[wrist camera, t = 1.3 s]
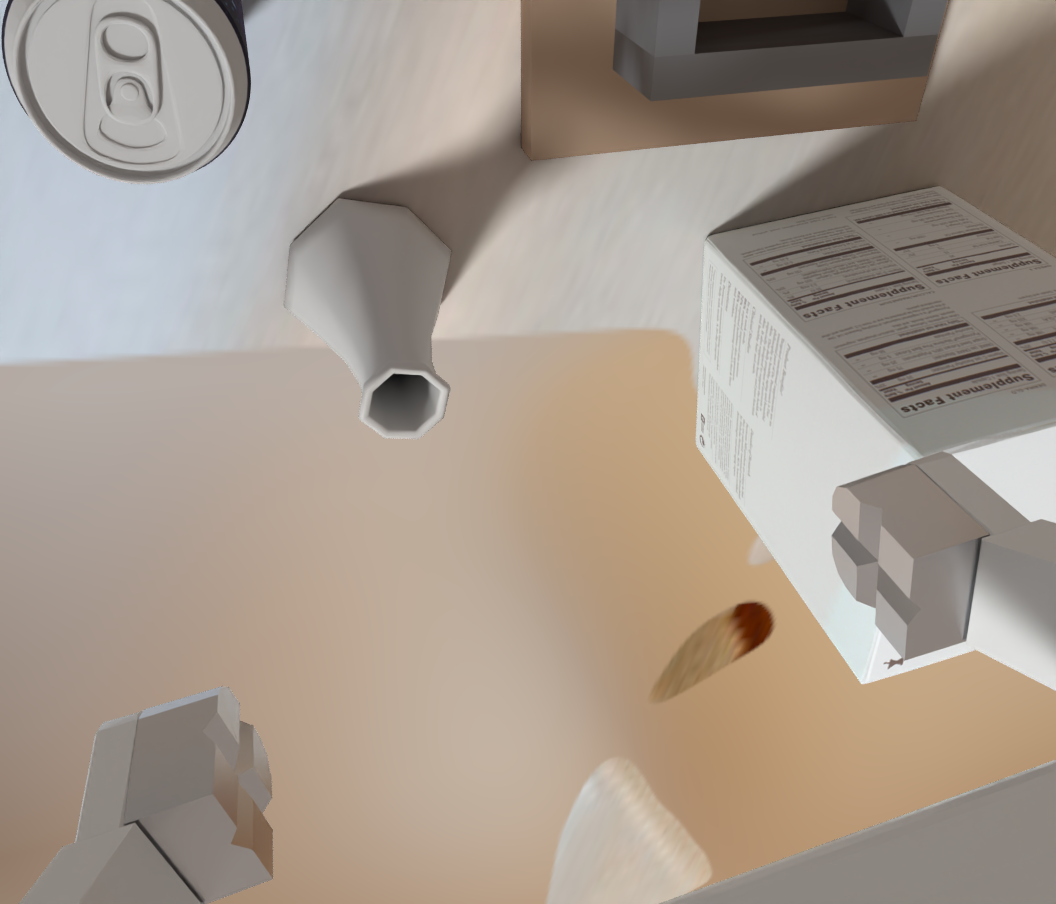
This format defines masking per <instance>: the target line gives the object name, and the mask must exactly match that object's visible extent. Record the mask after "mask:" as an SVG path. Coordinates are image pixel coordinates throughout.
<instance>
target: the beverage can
mask: <svg viewBox="0 0 1056 904" xmlns="http://www.w3.org/2000/svg"><path fill="white" fill-rule="evenodd" d="M2 52H3V59H4V64H5V68H6V72H7V76H8V78H9V81H10V84H11V86H12V89H13V91H14V93H15V95H16V97H17V99H18V101H19V103H20V104H21V106H22V108H23V109H24V111H25V112H26V114H27V115H28V116H29V118H30V119H31V121H32V122H33V123H34V125H35V126H36V128H37V129H38V130H39V132H40V133H41V134H42V135H43V136H44V137H45V139H46V140H47V141H48V142H49V143H50V144H51V145H52V146H53V147H54V148H55V149H57V150H58V151H59V152H60V153H61V154H63V155H64V156H65V157H66V158H68V159H69V160H71V161H72V162H74V163H75V164H77V165H79V166H80V167H82V168H84V169H86V170H88V171H90V172H92V173H94V174H97V175H99V176H102V177H105V178H108V179H111V180H115V181H120V182H125V183H131V184H155V183H164V182H168V181H172V180H175V179H179V178H181V177H184V176H186V175H188V174H190V173H192V172H194V171H196V170H199V169H200V168H202V167H204V166H206V165H207V164H209V163H210V162H212V161H213V160H214V159H216V158H217V157H218V156H219V155H220V154H221V153H222V152H224V151H225V149H226V148H227V147H228V146H229V145H230V144H231V142H232V141H233V140H234V138H235V137H236V135H237V133H238V132H239V130H240V128H241V126H242V123H243V121H244V118H245V116H246V112H247V109H248V104H249V99H250V89H251V77H250V66H249V58H248V51H247V43H246V35H245V27H244V20H243V12H242V4H241V0H9V1H8V4H7V7H6V10H5V14H4V18H3V25H2Z"/></svg>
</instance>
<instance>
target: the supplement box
mask: <svg viewBox="0 0 1056 904" xmlns="http://www.w3.org/2000/svg"><path fill="white" fill-rule="evenodd" d="M696 446H697V447H698V449H699V450H700V452H701V453H702V454H703V456H704V457H705V459H706V460H707V461H708V463H709V465H710V466H711V467H712V469H713V470H714V472H715V473H716V474H717V476H718V477H719V478H720V480H721V482H722V483H723V485H724V486H725V488H726V489H727V490H728V492H729V493H730V495H731V496H732V498H733V499H734V501H735V502H736V504H737V505H738V506H739V508H740V509H741V511H742V512H743V513H744V515H745V516H746V518H747V519H748V521H749V522H750V524H751V525H752V526H753V528H754V529H755V531H756V532H757V534H758V535H759V537H760V538H761V539H762V541H763V542H764V544H765V545H766V547H767V548H768V550H769V551H770V553H771V554H772V555H773V557H774V558H775V560H776V561H777V562H778V564H779V566H780V567H781V568H782V570H783V571H784V573H785V574H786V576H787V577H788V579H789V580H790V582H791V583H792V585H793V586H794V587H795V589H796V590H797V592H798V593H799V595H800V596H801V598H802V599H803V601H804V602H805V603H806V605H807V606H808V608H809V609H810V611H811V612H812V613H813V615H814V617H815V618H816V619H817V621H818V622H819V624H820V625H821V626H822V628H823V629H824V631H825V632H826V634H827V635H828V637H829V638H830V639H831V641H832V642H833V644H834V645H835V647H836V648H837V649H838V651H839V652H840V654H841V655H842V656H843V658H844V659H845V661H846V662H847V664H848V665H849V667H850V668H851V670H852V671H853V672H854V674H855V675H856V677H857V678H858V680H859V681H860V683H861V684H866V683H869V682H873V681H877V680H880V679H883V678H887V677H890V676H894V675H897V674H901V673H904V672H907V671H910V670H914V669H917V668H920V667H923V666H926V665H929V664H932V663H936V662H939V661H942V660H945V659H949V658H952V657H955V656H958V655H961V654H964V653H968V652H970V651H974V650H975V649H973V648H971V647H969V646H967V645H966V642H962V643H959V644H956V645H953V646H950V647H947V648H943V649H940V650H937V651H934V652H931V653H928V654H924V655H921V656H918V657H915V658H912V659H908V660H905V661H904V660H903V658H902V657H901V656H900V655H899V653H898V652H897V651H896V650H895V648H894V647H893V646H892V645H891V643H890V642H889V641H888V640H887V639H886V637H885V636H884V635H883V634H882V632H881V631H880V630H879V629H878V627H877V626H876V625H875V614H876V608H873V607H871V606H868V605H866V604H863V603H861V602H858V601H856V600H855V599H854V597H853V596H852V595H851V593H850V592H849V591H848V590H847V588H846V587H845V585H844V583H843V581H842V580H841V578H840V576H839V574H838V572H837V568H836V565H835V562H834V559H833V555H832V534H833V532H834V531H835V529H836V528H837V526H838V525H839V523H840V522H841V520H840V519H839V518H838V517H837V516H836V514H835V513H834V512H833V511H832V495H833V493H834V491H835V489H836V487H837V486H840V485H843V484H846V483H849V482H852V481H855V480H858V479H861V478H864V477H867V476H870V475H873V474H876V473H879V472H882V471H885V470H888V469H891V468H894V467H897V466H900V465H905V464H906V463H908V462H911V461H914V460H917V459H920V458H923V457H926V456H929V455H932V454H935V453H938V452H941V451H943V452H946V453H949V454H951V455H953V456H954V457H955V458H956V459H958V460H959V461H960V462H961V463H962V464H963V465H965V466H966V467H967V468H968V469H969V470H970V471H972V472H973V473H974V474H975V475H976V476H977V477H979V478H980V479H981V480H982V481H983V482H984V483H986V484H987V485H988V486H989V487H990V488H991V489H993V490H994V491H995V492H996V493H997V494H998V495H1000V496H1001V497H1002V498H1003V499H1004V500H1005V501H1007V502H1008V503H1009V504H1010V505H1011V506H1013V507H1014V508H1015V509H1016V510H1017V511H1018V512H1020V513H1021V514H1022V515H1023V516H1024V517H1025V518H1027V519H1028V520H1029V521H1030V522H1033V521H1036V520H1040V519H1043V520H1047V521H1050V522H1054V523H1056V258H1055V257H1054V256H1052V255H1051V254H1049V253H1047V252H1046V251H1044V250H1043V249H1041V248H1039V247H1038V246H1036V245H1035V244H1033V243H1031V242H1030V241H1028V240H1027V239H1025V238H1023V237H1022V236H1020V235H1019V234H1017V233H1016V232H1014V231H1012V230H1011V229H1009V228H1008V227H1006V226H1004V225H1003V224H1001V223H1000V222H998V221H996V220H995V219H993V218H992V217H990V216H988V215H987V214H985V213H984V212H982V211H980V210H979V209H977V208H976V207H974V206H973V205H971V204H969V203H968V202H966V201H965V200H963V199H961V198H960V197H958V196H957V195H955V194H953V193H952V192H950V191H948V190H947V189H945V188H943V187H941V186H937V187H932V188H927V189H922V190H917V191H912V192H908V193H903V194H898V195H893V196H889V197H884V198H879V199H875V200H870V201H865V202H861V203H856V204H851V205H847V206H842V207H837V208H833V209H828V210H824V211H819V212H815V213H810V214H805V215H801V216H796V217H792V218H787V219H783V220H778V221H773V222H769V223H764V224H759V225H755V226H750V227H746V228H741V229H736V230H732V231H727V232H723V233H719V234H714V235H711V236H709V237H707V239H706V241H705V248H704V265H703V288H702V312H701V333H700V355H699V377H698V402H697V423H696Z"/></svg>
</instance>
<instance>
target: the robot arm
mask: <svg viewBox="0 0 1056 904" xmlns="http://www.w3.org/2000/svg"><path fill="white" fill-rule="evenodd" d="M832 511H833V512H834V513H835V514H836V516H837V517H838V518H839V519H840V520H841V522H840V523H839V525H838V526H837V528H836V529H835V531H834V532H833V534H832V555H833V559H834V562H835V565H836V568H837V572H838V574H839V576H840V578H841V580H842V581H843V583H844V585H845V587H846V588H847V590H848V591H849V592H850V593H851V595H852V596H853V597H854V599H855V600H856V601H858V602H861V603H863V604H866V605H868V606H871V607H873V608H876V614H875V625H876V626H877V627H878V629H879V630H880V631H881V632H882V634H883V635H884V636H885V637H886V639H887V640H888V641H889V642H890V643H891V645H892V646H893V647H894V648H895V650H896V651H897V652H898V653H899V655H900V656H901V657H902V658H903V660H904V661H905V660H908V659H912V658H915V657H918V656H921V655H924V654H928V653H931V652H934V651H937V650H940V649H943V648H947V647H950V646H953V645H956V644H959V643H962V642H966V645H967V646H969V647H971V648H973V649H975V650H977V651H979V652H981V653H983V654H985V655H987V656H989V657H991V658H993V659H995V660H997V661H999V662H1001V663H1003V664H1005V665H1006V666H1008V667H1010V668H1013V669H1015V670H1016V671H1019V672H1020V673H1022V674H1024V675H1026V676H1028V677H1030V678H1032V679H1034V680H1036V681H1038V682H1040V683H1042V684H1044V685H1046V686H1048V687H1050V688H1052V689H1054V690H1055V691H1056V523H1054V522H1050V521H1047V520H1043V519H1040V520H1036V521H1033V522H1030V521H1029V520H1028V519H1027V518H1025V517H1024V516H1023V515H1022V514H1021V513H1020V512H1018V511H1017V510H1016V509H1015V508H1014V507H1013V506H1011V505H1010V504H1009V503H1008V502H1007V501H1005V500H1004V499H1003V498H1002V497H1001V496H1000V495H998V494H997V493H996V492H995V491H994V490H993V489H991V488H990V487H989V486H988V485H987V484H986V483H984V482H983V481H982V480H981V479H980V478H979V477H977V476H976V475H975V474H974V473H973V472H972V471H970V470H969V469H968V468H967V467H966V466H965V465H963V464H962V463H961V462H960V461H959V460H958V459H956V458H955V457H954V456H953V455H951V454H949V453H946V452H943V451H941V452H938V453H935V454H932V455H929V456H926V457H923V458H920V459H917V460H914V461H911V462H908V463H906V464H905V465H900V466H897V467H894V468H891V469H888V470H885V471H882V472H879V473H876V474H873V475H870V476H867V477H864V478H861V479H858V480H855V481H852V482H849V483H846V484H843V485H840V486H837V487H836V489H835V491H834V493H833V495H832ZM271 782H272V781H271V773H270V768H269V763H268V758H267V753H266V751H265V748H264V746H263V743H262V741H261V738H260V736H259V735H258V733H257V731H256V730H255V728H254V726H253V725H250V724H247V723H245V722H242V721H240V703H239V702H238V700H237V699H236V698H235V696H234V694H233V693H232V691H231V690H230V688H229V687H218V688H215V689H212V690H208V691H205V692H202V693H198V694H195V695H192V696H188V697H185V698H182V699H178V700H175V701H172V702H168V703H165V704H161V705H158V706H155V707H151V708H148V709H145V710H143V711H141V712H138V713H134V714H131V715H128V716H124V717H121V718H118V719H114V720H111V721H107V722H104V723H103V724H102V725H101V727H100V728H99V730H98V731H97V733H96V735H95V739H94V744H93V749H92V755H91V760H90V766H89V771H88V776H87V782H86V787H85V792H84V797H83V803H82V808H81V813H80V818H79V824H78V829H77V834H76V840H75V843H72V844H69V845H67V846H64V847H62V848H61V850H60V851H59V852H58V853H57V855H56V856H55V857H54V859H53V860H52V861H51V863H50V864H49V865H48V867H47V868H46V869H45V870H44V872H43V873H42V874H41V876H40V877H39V878H38V880H37V881H36V882H35V884H34V885H33V886H32V888H31V889H30V890H29V892H28V893H27V894H26V896H25V897H24V898H23V899H22V901H21V902H20V903H19V904H208V903H210V902H213V901H216V900H218V899H221V898H224V897H226V896H229V895H232V894H234V893H237V892H240V891H242V890H245V889H248V888H250V887H253V886H256V885H258V884H261V883H264V882H266V881H269V880H272V879H273V834H272V833H273V830H272V828H271V826H270V825H269V823H268V822H267V820H266V819H265V817H264V816H263V812H264V810H265V808H266V807H267V805H268V804H269V802H270V800H271V798H272V783H271ZM660 904H1056V760H1054V761H1051V762H1048V763H1046V764H1042V765H1040V766H1037V767H1034V768H1031V769H1029V770H1026V771H1023V772H1020V773H1018V774H1015V775H1012V776H1010V777H1007V778H1004V779H1001V780H999V781H995V782H993V783H990V784H987V785H985V786H982V787H979V788H976V789H974V790H971V791H968V792H965V793H962V794H960V795H957V796H954V797H951V798H949V799H946V800H943V801H940V802H938V803H935V804H932V805H929V806H927V807H924V808H921V809H918V810H916V811H913V812H910V813H908V814H905V815H902V816H899V817H896V818H894V819H891V820H888V821H886V822H883V823H880V824H877V825H874V826H872V827H869V828H866V829H864V830H861V831H858V832H855V833H852V834H850V835H847V836H844V837H841V838H839V839H836V840H833V841H831V842H828V843H825V844H822V845H819V846H817V847H814V848H811V849H808V850H806V851H803V852H800V853H797V854H795V855H792V856H789V857H786V858H783V859H781V860H778V861H775V862H772V863H770V864H767V865H764V866H761V867H759V868H756V869H753V870H750V871H748V872H745V873H742V874H739V875H737V876H734V877H731V878H728V879H726V880H723V881H720V882H717V883H715V884H712V885H709V886H706V887H704V888H701V889H698V890H695V891H693V892H690V893H687V894H684V895H682V896H679V897H676V898H673V899H671V900H668V901H665V902H662V903H660Z"/></svg>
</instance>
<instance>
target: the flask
mask: <svg viewBox="0 0 1056 904" xmlns="http://www.w3.org/2000/svg"><path fill="white" fill-rule="evenodd" d="M451 252H452V251H451V250H450V249H449V248H448V247H447V246H446V245H445V244H444V243H443V242H442V241H441V240H440V239H439V238H438V237H437V236H436V235H435V234H434V233H433V232H432V231H431V230H430V229H429V228H428V227H427V226H426V225H425V224H424V223H423V222H422V221H421V220H419V219H418V218H417V217H416V216H415V215H414V214H413V213H412V212H411V211H410V210H409V209H408V208H407V207H401V206H393V205H386V204H378V203H370V202H363V201H355V200H347V199H340V198H338V199H337V200H336V201H335V202H334V203H333V204H332V205H331V206H330V207H329V208H328V209H327V210H326V211H325V212H324V213H323V214H322V215H321V216H320V217H318V218H317V219H316V220H315V221H314V222H313V223H312V224H311V225H310V226H309V227H308V228H307V229H306V230H305V231H304V232H303V233H302V234H301V235H300V236H299V237H298V238H297V239H296V240H295V241H294V242H293V243H292V244H291V245H290V249H289V259H288V269H287V279H286V289H285V299H284V307H285V308H286V309H287V310H288V311H289V312H290V313H292V314H293V315H294V316H295V317H296V318H297V319H299V320H300V321H301V322H302V323H303V324H304V325H306V326H307V327H308V328H309V329H310V330H312V331H313V332H314V333H315V334H316V335H318V336H319V337H320V338H321V339H322V340H323V341H324V342H325V343H326V344H327V345H328V346H329V347H330V348H331V349H332V350H333V351H334V352H335V353H337V354H338V355H339V356H340V357H341V358H342V359H343V360H344V361H345V362H346V363H347V365H348V367H349V368H350V370H351V372H352V373H353V375H354V376H355V378H356V380H357V381H358V383H359V384H360V387H361V391H362V399H361V404H360V411H359V419H360V420H361V421H362V422H363V423H365V424H366V425H367V426H369V427H370V428H372V429H373V430H374V431H376V432H377V433H378V434H380V435H381V436H383V437H384V438H400V439H401V438H402V439H419V438H421V437H422V436H423V435H424V434H425V433H426V432H427V431H429V430H430V429H431V428H432V427H433V426H435V425H436V424H437V423H438V422H439V421H440V420H441V419H443V417H444V414H445V409H446V405H447V401H448V397H449V392H450V386H449V384H448V383H447V382H446V381H445V380H443V379H442V378H441V377H440V376H438V375H437V374H436V372H435V370H434V366H433V363H432V348H431V347H432V346H431V335H432V332H433V329H434V326H435V323H436V320H437V317H438V313H439V309H440V304H441V299H442V295H443V290H444V285H445V280H446V276H447V271H448V266H449V261H450V257H451Z"/></svg>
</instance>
